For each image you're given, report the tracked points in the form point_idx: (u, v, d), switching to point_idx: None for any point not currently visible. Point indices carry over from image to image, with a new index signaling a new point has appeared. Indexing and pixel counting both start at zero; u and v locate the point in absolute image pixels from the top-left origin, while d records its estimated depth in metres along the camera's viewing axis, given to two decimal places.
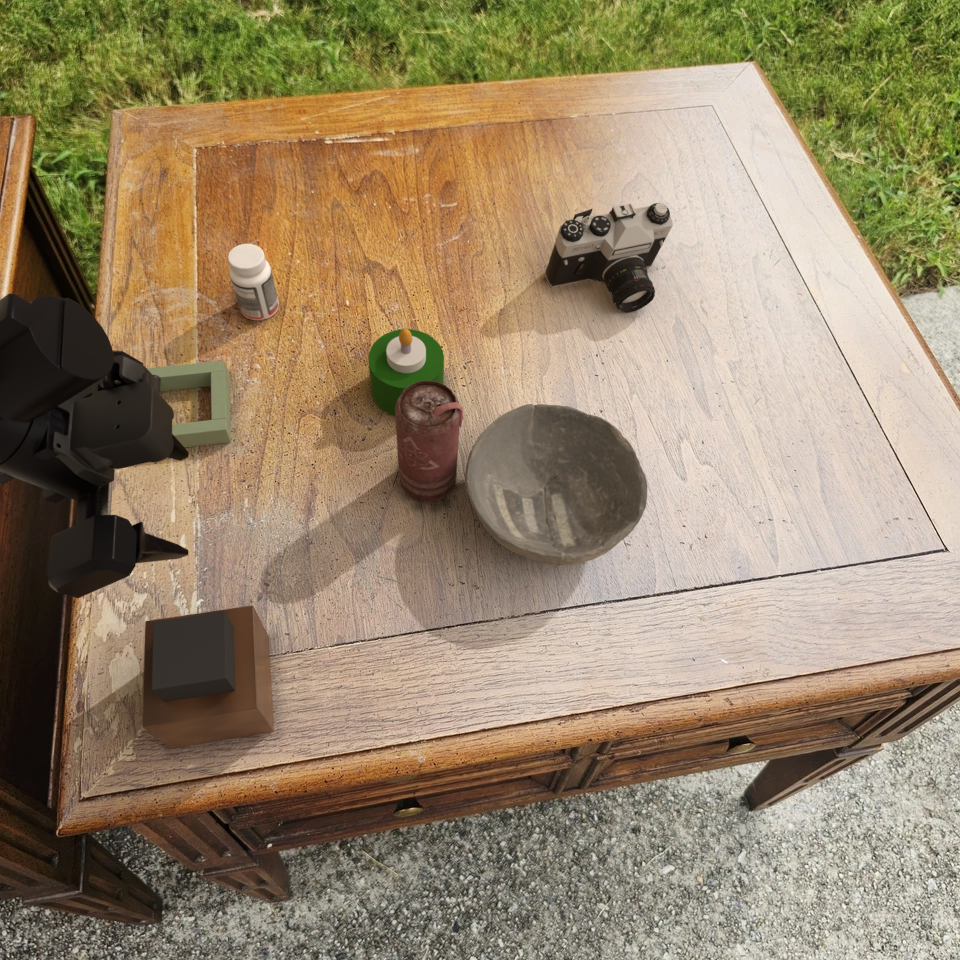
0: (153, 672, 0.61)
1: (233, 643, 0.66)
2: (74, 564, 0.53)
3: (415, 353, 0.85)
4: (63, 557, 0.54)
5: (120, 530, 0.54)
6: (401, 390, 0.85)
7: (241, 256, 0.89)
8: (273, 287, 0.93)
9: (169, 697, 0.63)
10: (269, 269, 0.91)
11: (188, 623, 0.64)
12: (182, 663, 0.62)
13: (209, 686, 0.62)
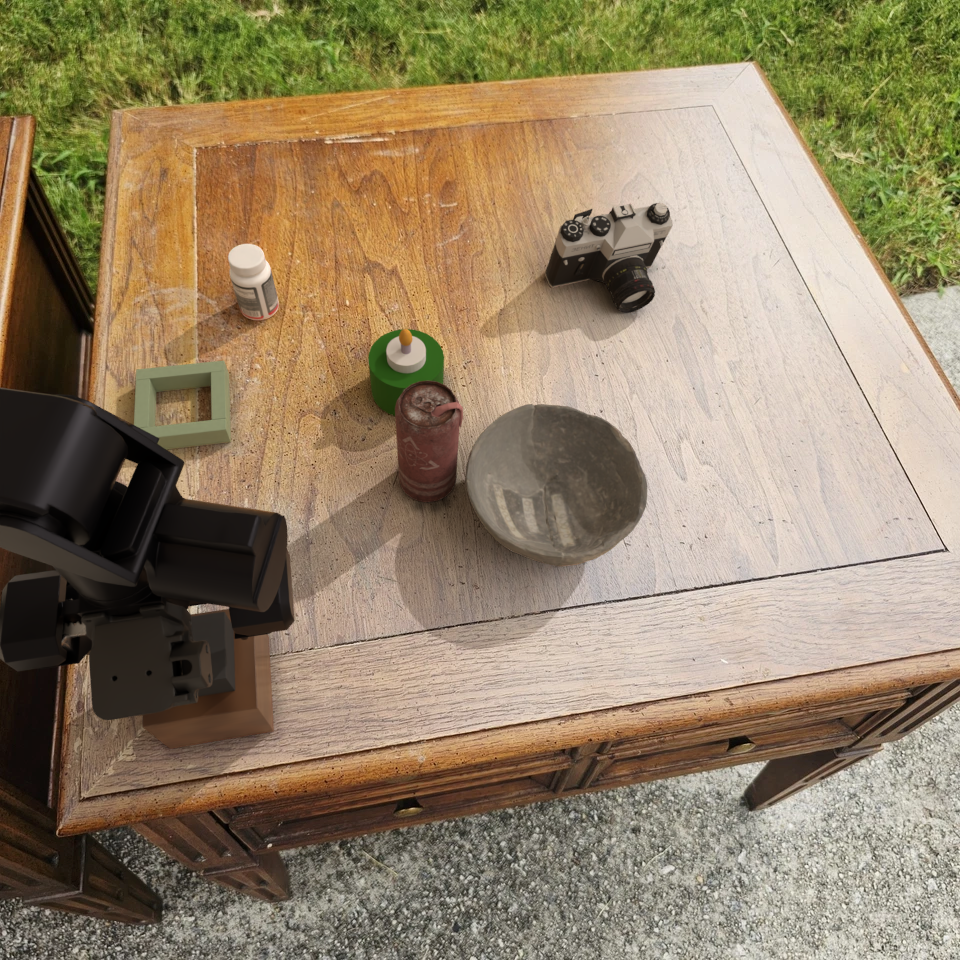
0: None
1: (233, 643, 0.66)
2: (6, 618, 0.51)
3: (415, 353, 0.85)
4: (24, 600, 0.52)
5: (45, 659, 0.51)
6: (401, 390, 0.85)
7: (241, 256, 0.89)
8: (273, 287, 0.93)
9: None
10: (269, 269, 0.91)
11: None
12: None
13: None
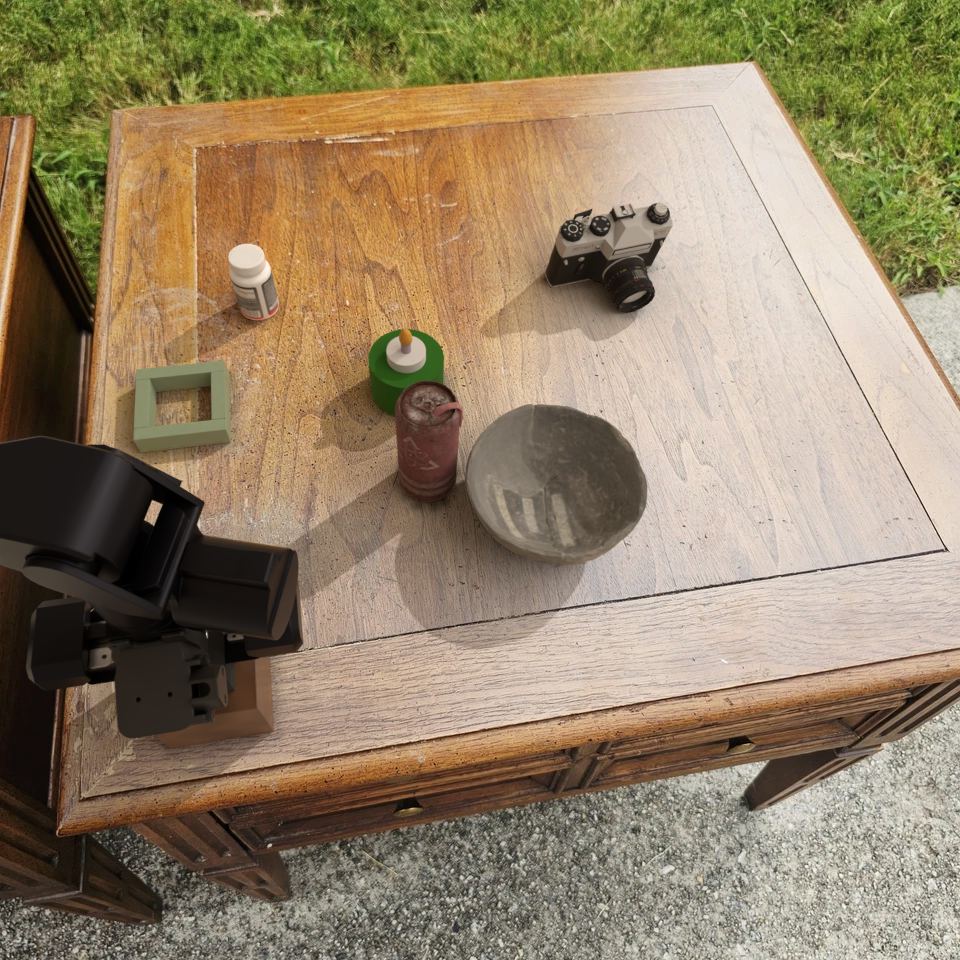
0: None
1: None
2: (36, 642, 0.55)
3: (415, 353, 0.85)
4: (52, 624, 0.56)
5: (72, 680, 0.55)
6: (401, 390, 0.85)
7: (241, 256, 0.89)
8: (273, 287, 0.93)
9: None
10: (269, 269, 0.91)
11: None
12: None
13: None
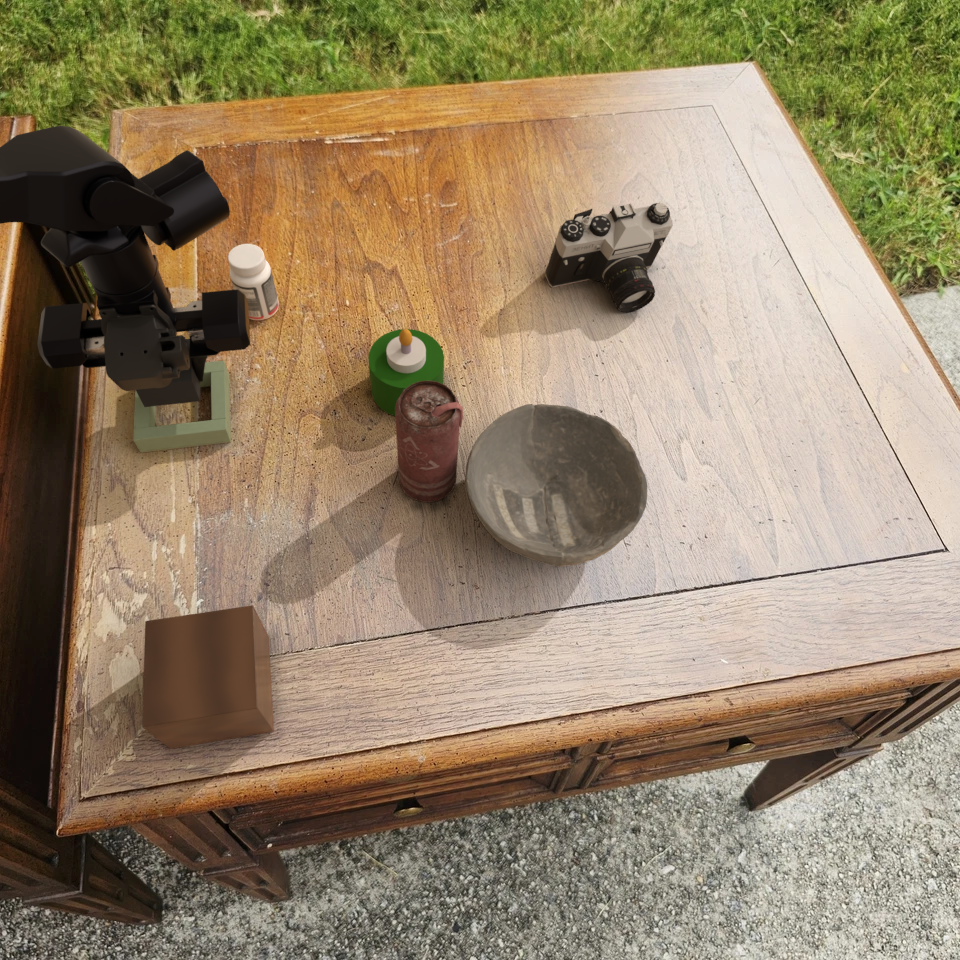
0: None
1: None
2: (45, 327, 0.73)
3: (415, 353, 0.85)
4: (57, 316, 0.73)
5: (72, 356, 0.73)
6: (401, 390, 0.85)
7: (241, 256, 0.89)
8: (273, 287, 0.93)
9: (148, 400, 0.81)
10: (269, 269, 0.91)
11: None
12: None
13: (178, 390, 0.80)
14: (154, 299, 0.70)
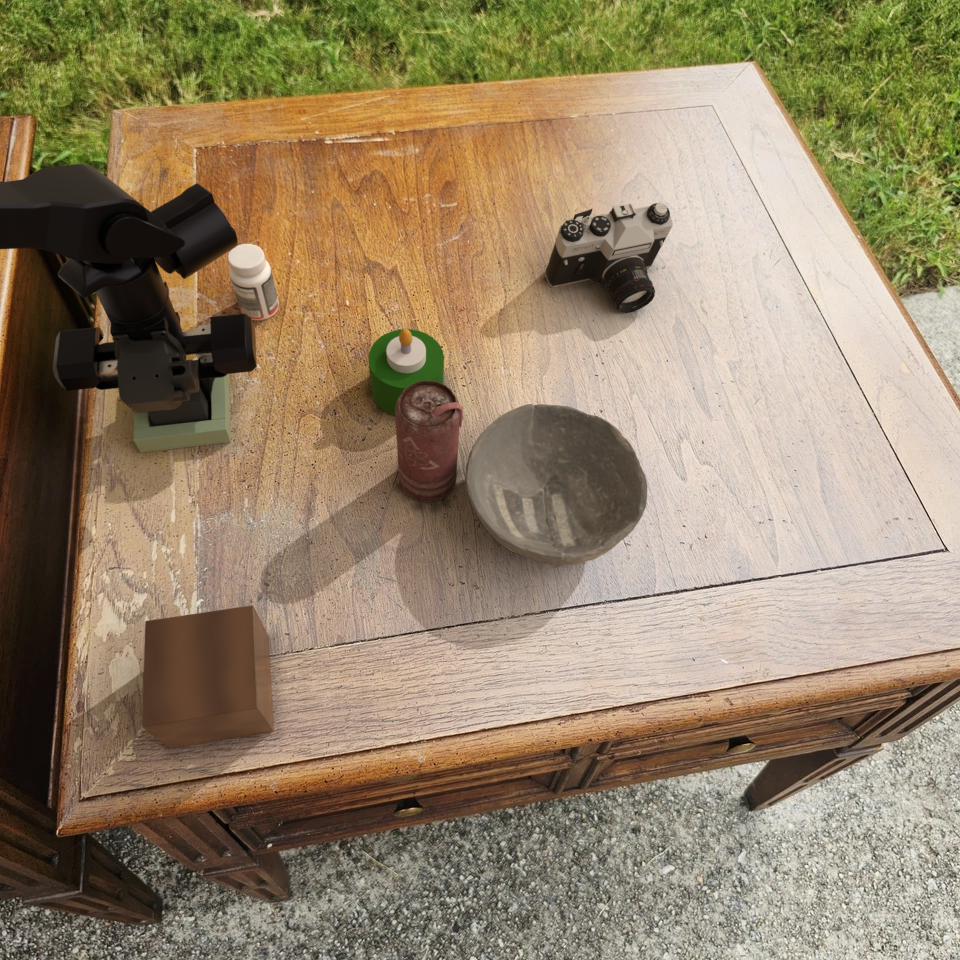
0: None
1: None
2: (60, 351, 0.76)
3: (415, 353, 0.85)
4: (71, 341, 0.76)
5: (86, 379, 0.76)
6: (401, 390, 0.85)
7: (241, 256, 0.89)
8: (273, 287, 0.93)
9: (158, 420, 0.83)
10: (269, 269, 0.91)
11: None
12: None
13: (187, 409, 0.83)
14: (165, 325, 0.72)
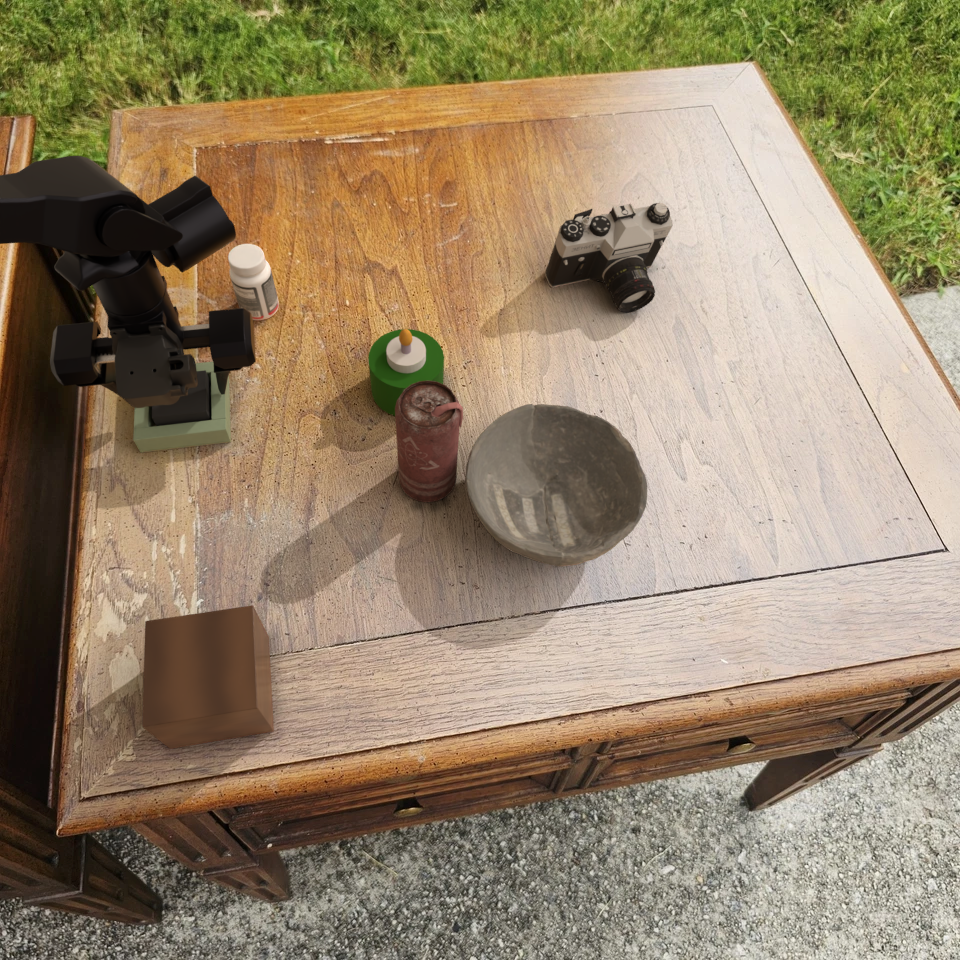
0: (153, 406, 0.84)
1: None
2: (57, 345, 0.75)
3: (415, 353, 0.85)
4: (68, 335, 0.76)
5: (83, 374, 0.75)
6: (401, 390, 0.85)
7: (241, 256, 0.89)
8: (273, 287, 0.93)
9: None
10: (269, 269, 0.91)
11: None
12: None
13: (194, 419, 0.85)
14: (163, 319, 0.72)
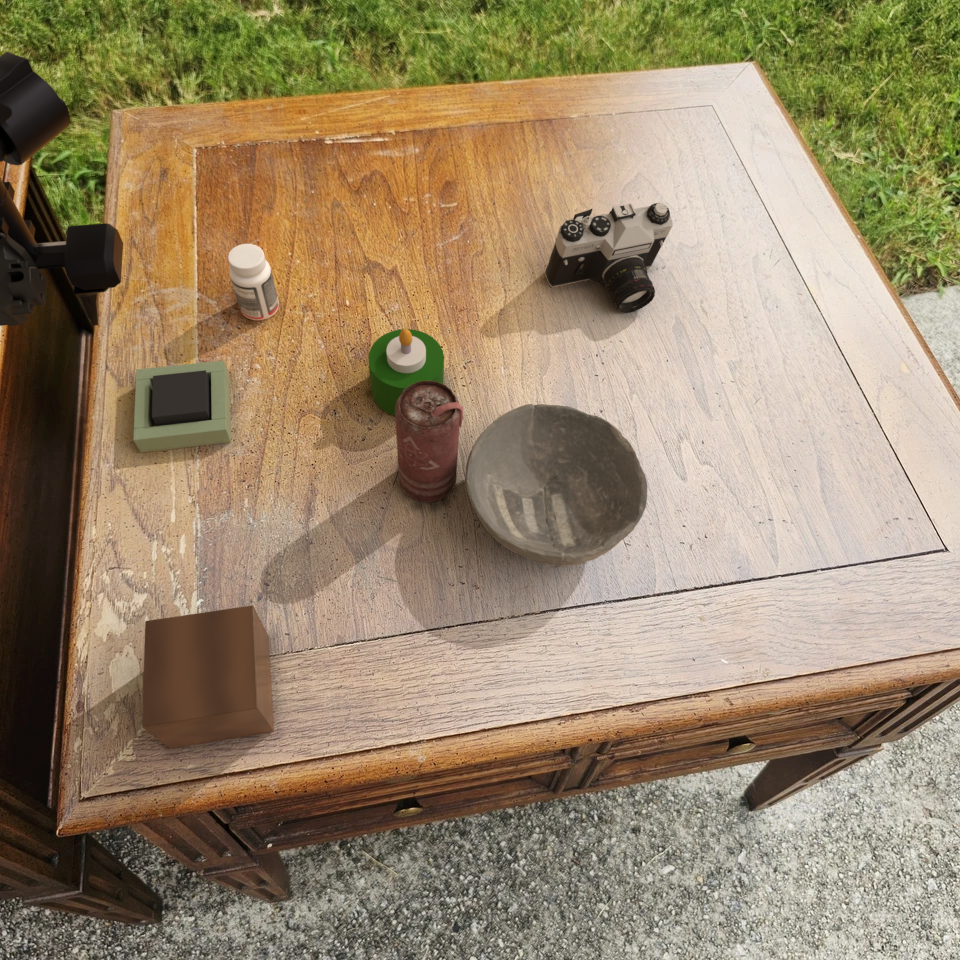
0: (153, 406, 0.84)
1: None
2: None
3: (415, 353, 0.85)
4: None
5: None
6: (401, 390, 0.85)
7: (241, 256, 0.89)
8: (273, 287, 0.93)
9: None
10: (269, 269, 0.91)
11: (178, 376, 0.86)
12: (174, 401, 0.84)
13: (194, 419, 0.85)
14: (2, 227, 0.64)
